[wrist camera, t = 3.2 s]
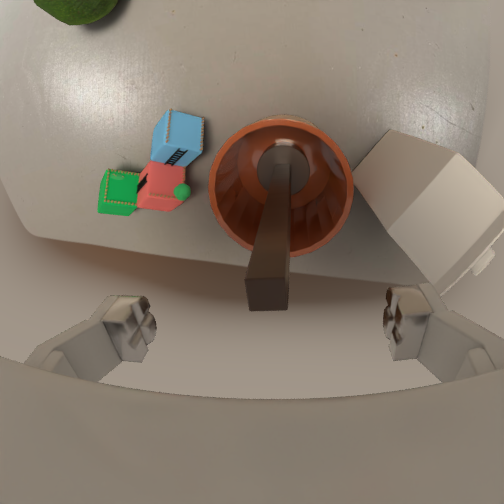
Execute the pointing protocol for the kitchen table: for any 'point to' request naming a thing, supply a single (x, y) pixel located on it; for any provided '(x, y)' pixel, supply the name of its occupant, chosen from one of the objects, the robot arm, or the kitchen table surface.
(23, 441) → the robot arm
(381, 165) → the milk carton
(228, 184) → the crock
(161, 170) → the building blocks
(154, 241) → the kitchen table surface
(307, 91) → the kitchen table surface
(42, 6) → the avocado
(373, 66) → the kitchen table surface
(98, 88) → the kitchen table surface
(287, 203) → the ladle
